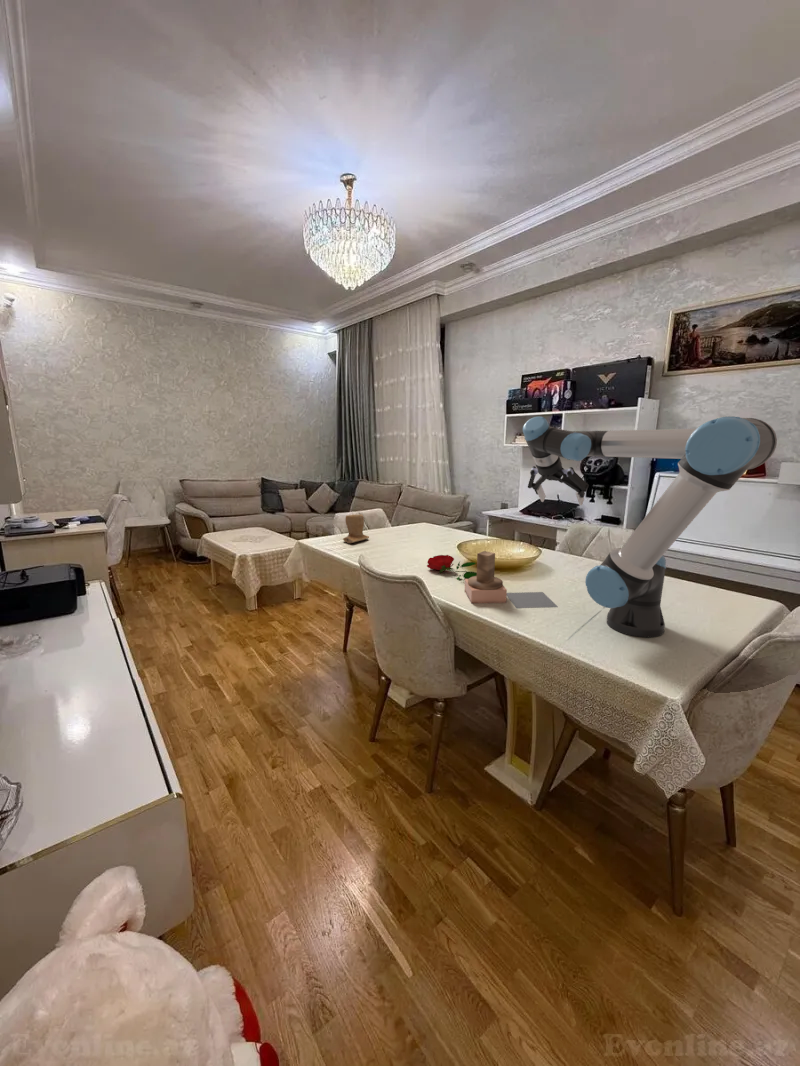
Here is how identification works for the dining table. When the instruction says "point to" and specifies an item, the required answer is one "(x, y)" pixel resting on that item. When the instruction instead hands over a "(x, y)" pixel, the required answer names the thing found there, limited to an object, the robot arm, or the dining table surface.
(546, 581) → the dining table surface
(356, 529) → the wooden stamp
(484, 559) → the lid
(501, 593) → the dish
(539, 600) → the mat
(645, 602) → the robot arm
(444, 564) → the flower
